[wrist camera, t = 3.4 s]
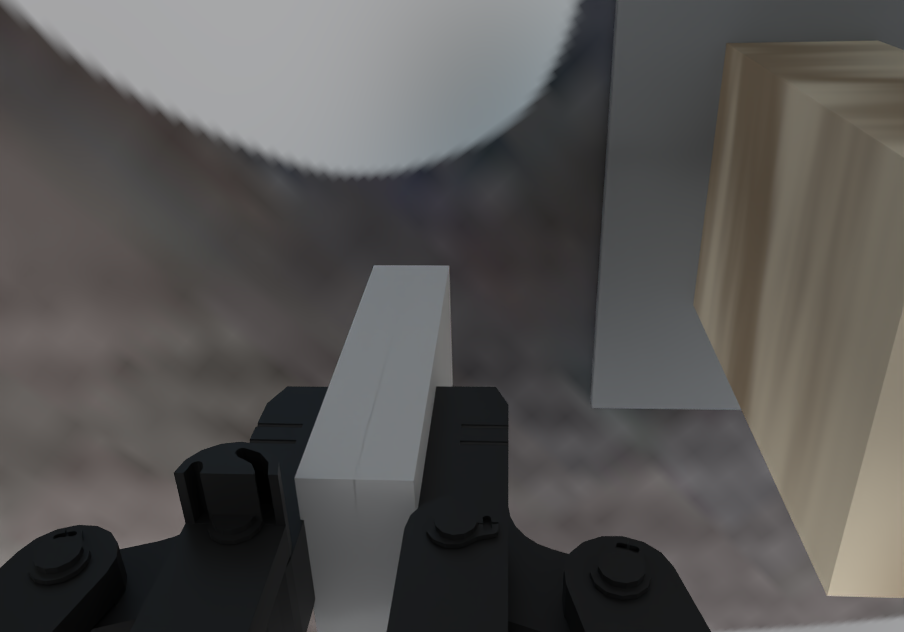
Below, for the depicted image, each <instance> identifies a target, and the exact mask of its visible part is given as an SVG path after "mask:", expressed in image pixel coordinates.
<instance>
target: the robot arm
mask: <svg viewBox="0 0 904 632" xmlns="http://www.w3.org/2000/svg"><path fill="white" fill-rule="evenodd" d="M452 385H453V374H452V340H451V307H450V273H449V266H433V265H374V266H373V269H372V272H371V274H370V277H369V280H368V283H367V285H366V288H365V291H364V293H363V296H362V299H361V301H360V304H359V307H358V309H357V312H356V315H355V317H354V320H353V323H352V325H351V328H350V331H349V333H348V336H347V339H346V341H345V344H344V347H343V349H342V352H341V355H340V358H339V360H338V363H337V366H336V368H335V371H334V374H333V376H332V379H331V382H330V384H329V387H286V388H285V389H284V390H283V391H282V392H280V393H279V394H278V395H277V396H276V397H274V398H273V399H272V400H271V401H270V402H268V403H267V405H266V407H265V409H264V411H263V413H262V415H261V417H260V419H259V421H258V427H256V428H255V430H254V432H253V434H252V436H251V438H250V443H246V442H235V443H225V444H219V445H216V446H213V447H210V448H207V449H204V450H201V451H200V452H198V453H196V454H195V455H193V456H191V457H190V458H188V459H186V460H185V461H184V462H183V463H182V464H181V465H180V466H179V468H178V469H177V470H176V471H175V472H174V476H175V480H176V484H177V489H178V493H179V497H180V501H181V506H182V510H183V514H184V518H185V523H186V524H185V526H184V528H183V530H182V532H181V533H180V535H177V536H175V537H172V538H168V539H165V540H161V541H158V542H153V543H148V544H143V545H139V546H134V547H129V548H124V549H119V546H118V543H117V541H116V540H115V538H114V536H113V535H112V533H111V532H109V531H107V530H105V529H103V528H100V527H98V526H86V525H77V526H72V527H67V528H62V529H57V530H55V531H52V532H50V533H48V534H46V535H43V536H41V537H39V538H36V539H35V540H33V541H32V542H31V543H29V544H28V545H27V546H25V547H24V548H22V549H21V550H20V551H18V552H17V553H16V554H15V555H14V556H13V557H12V558H11V559H9V560H8V561H7V562H6V563H5V564H4V565H3V566H2V567H1V568H0V632H307V628H308V624H309V621H310V617H311V614H312V610H313V607H314V614H315V621H316V627H317V632H711V631H710V629H709V627H708V626H707V624H706V622H705V620H704V619H703V617H702V615H701V613H700V612H699V610H698V608H697V607H696V605H695V603H694V601H693V600H692V598H691V596H690V594H689V593H688V591H687V589H686V587H685V586H684V584H683V582H682V580H681V579H680V577H679V575H678V573H677V572H676V570H675V568H674V567H673V566H672V564H671V563H670V562H669V561H668V560H667V559H666V558H665V556H664V555H663V554H662V553H661V552H659V551H658V550H656V549H654V548H653V547H651V546H649V545H648V544H646V543H644V542H642V541H638V540H634V539H630V538H627V537H623V536H601V537H598V538H595V539H592V540H588V541H585V542H583V543H582V544H580V545H579V546H578V547H577V548H575V549H574V550H573V551H572V552H571V553H570V554H567V553H563V552H559V551H556V550H552V549H550V548H547V547H545V546H542V545H539V544H537V543H535V542H534V541H532V540H531V539H529V538H527V537H526V536H525V535H524V534H523V533H522V532H521V531H520V530H519V529H518V528H517V527H516V526H515V524H514V523H513V521H512V519H511V517H510V513H509V508H508V404H507V402H506V401H505V399H504V398H503V397H502V395H501V394H500V392H499V391H498V389H497V388H496V387H452Z"/></svg>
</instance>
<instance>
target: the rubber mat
mask: <svg viewBox="0 0 904 632" xmlns="http://www.w3.org/2000/svg"><path fill="white" fill-rule="evenodd" d="M822 41H881V42H883V43H886V44H889V45H891V46H894V47H897V48H900V49H902V50H904V0H616V7H615V23H614V39H613V54H612V70H611V85H610V101H609V116H608V132H607V148H606V163H605V179H604V194H603V210H602V226H601V241H600V257H599V272H598V288H597V303H596V319H595V335H594V350H593V366H592V381H591V397H590V401H591V407H592V408H627V409H704V410H741V408H740V406H739V403H738V401H737V399H736V397H735V395H734V392H733V390H732V388H731V386H730V384H729V382H728V379H727V377H726V375H725V373H724V371H723V369H722V366H721V364H720V362H719V360H718V358H717V356H716V353H715V351H714V349H713V347H712V345H711V342H710V340H709V338H708V336H707V334H706V332H705V329H704V327H703V325H702V323H701V321H700V319H699V316H698V314H697V312H696V310H695V308H694V306H693V303H694V295H695V287H696V279H697V272H698V264H699V256H700V248H701V240H702V232H703V224H704V217H705V209H706V201H707V193H708V185H709V177H710V169H711V162H712V154H713V146H714V138H715V130H716V122H717V114H718V107H719V99H720V91H721V83H722V75H723V67H724V59H725V52H726V44H727V43H765V42H822Z"/></svg>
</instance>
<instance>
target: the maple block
mask: <svg viewBox="0 0 904 632" xmlns="http://www.w3.org/2000/svg"><path fill="white" fill-rule="evenodd" d="M693 306H694V308H695V310H696V312H697V314H698V316H699V319H700V321H701V323H702V325H703V327H704V329H705V332H706V334H707V336H708V338H709V340H710V342H711V345H712V347H713V349H714V351H715V353H716V356H717V358H718V360H719V362H720V364H721V366H722V369H723V371H724V373H725V375H726V377H727V379H728V382H729V384H730V386H731V388H732V390H733V392H734V395H735V397H736V399H737V401H738V403H739V406H740V408H741V410H742V412H743V414H744V416H745V419H746V421H747V423H748V425H749V427H750V429H751V432H752V434H753V436H754V438H755V440H756V442H757V445H758V447H759V449H760V451H761V453H762V456H763V458H764V460H765V462H766V464H767V466H768V469H769V471H770V473H771V475H772V477H773V479H774V482H775V484H776V486H777V488H778V490H779V492H780V495H781V497H782V499H783V501H784V503H785V506H786V508H787V510H788V512H789V514H790V516H791V519H792V521H793V523H794V525H795V527H796V529H797V532H798V534H799V536H800V538H801V540H802V542H803V545H804V547H805V549H806V551H807V553H808V556H809V558H810V560H811V562H812V564H813V566H814V569H815V571H816V573H817V575H818V577H819V579H820V582H821V584H822V586H823V588H824V590H825V592H826V595H827V596H853V597H888V598H904V50H902V49H900V48H897V47H894V46H891V45H889V44H886V43H883V42H881V41H822V42H765V43H727V44H726V52H725V59H724V67H723V75H722V83H721V91H720V99H719V107H718V114H717V122H716V130H715V138H714V146H713V154H712V162H711V169H710V177H709V185H708V193H707V201H706V209H705V217H704V224H703V232H702V240H701V248H700V256H699V264H698V272H697V279H696V287H695V295H694V303H693Z"/></svg>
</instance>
